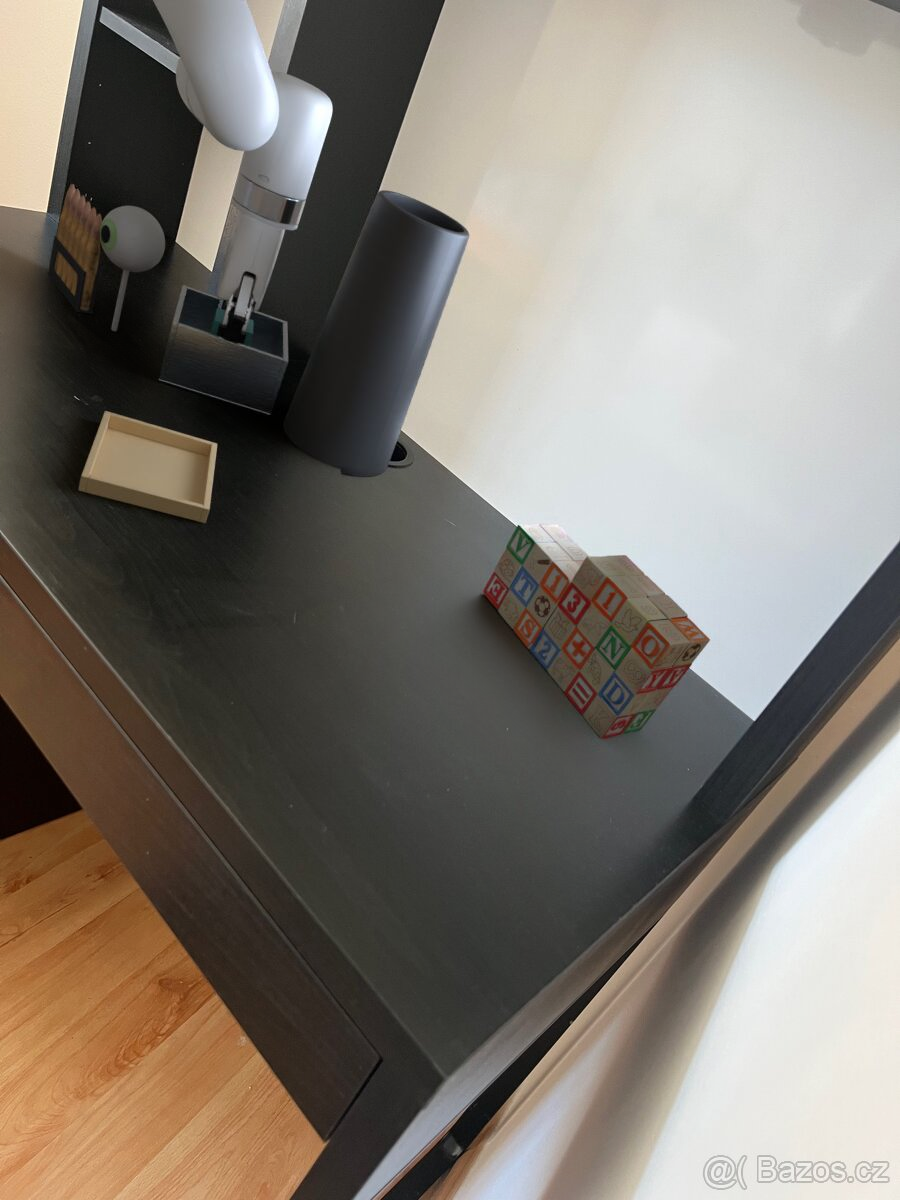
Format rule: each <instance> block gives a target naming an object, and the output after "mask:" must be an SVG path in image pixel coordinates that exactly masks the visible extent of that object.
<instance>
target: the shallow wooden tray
mask: <svg viewBox="0 0 900 1200" xmlns="http://www.w3.org/2000/svg"><path fill="white" fill-rule="evenodd" d="M217 450H218V443H217V442H213V441H210V440H206V439H203V438H200V437H196V436H194V435H189V434H186V433H183V432H180V431H176V430H173V429H168V428H166V427H163V426H159V425H156V424H151V423H149V422H146V421H142V420H139V419H135V418H131V417H128V416H125V415H122V414H121V415H120V414H118V413H114V412H111V411H107V410H104V412H103V415H102V418H101V421H100V424H99V426H98V429H97V432H96V434H95V436H94V439H93V443H92V445H91V448H90V451H89V453H88V457H87V458H86V461H85V465H84V467H83V470H82V472H81V475H80V480H79V483H78V491H80V492H83V493H87V494H91V495H95V496H99V497H101V498H102V497H103V498H107V499H110V500H114V501H119V502H122V503H126V504H130V505H134V506H138V507H141V508H146V509H148V510H153V511H157V512H160V513H165V514H168V515H171V516H172V515H173V516H176V517H181V518H184V519H188V520H191V521H196V522H199V523H203V524H206V523H207V519H208V516H209V514H210V509H211V502H212V501H211V500H212V492H213V484H214V476H215V467H216V459H217V452H218V451H217Z"/></svg>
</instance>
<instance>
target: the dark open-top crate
mask: <svg viewBox="0 0 900 1200" xmlns="http://www.w3.org/2000/svg"><path fill="white" fill-rule="evenodd" d="M219 301H220V300H219V299H218V297H217V295H214V294H210V293H207V292H206V291H202V290H199V289H196V288H193V287H192V286H191V287H190V286H187V285H186V284H182V287H181V290H180V294H179V297H178V301H177V304H176V307H175V312H174V315H173V318H172V322H171V326H170V332H169V335H168V340H167V342H166V346H165V351H164V354H163V355H164V356H163V359H162V364H161V367H160V371H159V374H158V375H159V376H158V380H157V383H159V384H162V385H165V386H168V387H172V388H174V389H178V390H181V391H183V392H187V393H190V394H193V395H197V396H200V397H204V398H207V399H210V400H213V401H217V402H220V403H223V404H226V405H229V406H233V407H236V408H237V409H238V408H239V409H242V410H245V411H249V412H252V413H254V414H258V415H261V416H264V417H268V418H271V415H272V412H273V410H274V406H275V403H276V401H277V397H278V394H279V391H280V388H281V385H282V382H283V379H284V376H285V373H286V371H287V367H288V365H289V337H288V321H287V320H283V319H280V318H278V317H274V316H272V315H270V314H266V313H264V312H260V311H259V310H258V311H255V312H251V315H250V318H249V319H251V320H253V321H254V322H253V335H252V338H251V342H250V345H249V346H246V345H243V344H240V343H237V342H234V341H231V340H228V339H225V338H222V337H219V336H217V335H214V334H211V333H210V331H211V327H212V324H213V320H214V316H215V313H216V309H217V308H218V304H219V303H220V302H219ZM224 309H225V308H224ZM225 310H226V309H225Z"/></svg>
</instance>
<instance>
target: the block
mask: <svg viewBox="0 0 900 1200" xmlns="http://www.w3.org/2000/svg"><path fill="white" fill-rule="evenodd" d="M230 313H231V312H230ZM224 314H225V310H223V309H220V308H217V309H216V313H215V316H214V320H213V324H212V327H211V331H210V333H211V334H214V335H216V334H217V331H218V327H219V324H222V322H223V318H224ZM253 322H254V321H253V320H251V319H249V322H248V325H247V329H246V333H247V335H246V338H245V342H244V345H246V346H249V345H250V342H251V338H252V335H253Z"/></svg>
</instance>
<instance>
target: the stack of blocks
mask: <svg viewBox="0 0 900 1200" xmlns="http://www.w3.org/2000/svg"><path fill="white" fill-rule="evenodd" d="M482 594H483V595H484V596H485V597H486V598H487V599H488V600H489V602H490V603H491V605H493V607H495V609H496V610H497V612H498V613H499V615H500V616H501V617H502V618H503V620H504V621H505V623H506V624H507V625H508V626H509V627H510V628H511V629H512V630H513V632H514V633H515V634H516V636H517V637H518V638H519V640H521V643H523V644H524V646H525V647H526V648H527V650H529V651H530V652H531V654H533V656H534V658H536V659H537V661H538V662H539V664H541V666H542V667H543V668H544V669H545V671H547V673H548V674H549V675H550V676H551V678H552V679H553V680H554V682H555V683H556V684H557V685H558V686H559V688H560V689H561V691H563V692H564V694H565V696H566V697H567V698H568V699H569V701H570V702H571V704H572V705H573V706H574V707H575V709H576V710H577V711H578V712H579V714H581V715H582V717H583V718H584V720H585V721H586V722H587V723H588V725H589V726H590V727H591V728H592V730H593V731H594V732H595V733H596V735H597V736H598V737H599V738H600V739H602V740H603V739H609V738H613V737H617V736H620V735H622V734H628V733H632V732H637V731H641V730H643V728H644V727H645V725H646V724H647V723H648V721H649V720H650V719H651V717H652V716H653V715H654V714H655V712H656V711H657V709H658V708H659V707H660V705H661V704H662V703H663V702H664V700H665V699H666V698H667V696H668V695H669V694H670V693H671V691H673V689H674V687H676V686H677V684H678V683H679V682H680V681H681V680H682V678H683V677H684V675H686V673H687V671H688V670H689V669H690V668H691V667H692V665H693V663H694V661H696V659H697V658H698V656H700V654H701V653H702V652H703V650H705V648H706V647H707V645H708V644H709V643H710V641H711V639H710V638H709V637H708V636H707V634H705V633H704V632H703V630H701V629H700V628H699V627H698V625H696V624H695V622H694V621H692V620H691V618H689V616H688V613H687V612H686V611H685V610H684V609H683V608H682V607H681V606H680V605H679V604H678V603H677V602H676V601H675V600H674V599H672V597H670V595H668V594H666V593H665V591H664V590H663V589H662V588H660V587H659V586H658V585H657V584H656V582H654V581H653V579H651V578H650V577H649V576H648V575H646V574H645V572H644V571H643V570H642V569H640V567H638V565H636V564H635V563H634V562H633V560H632V559H631V558H630V557H628V556H627V555H626V554H616V555H615V554H613V555H603V556H599V555H598V556H597V555H594V556H590V555H589V554H588V553H587V552H586V551H584V550H583V548H582V547H581V546H580V545H579V544H578V543H577V542H576V541H574V539H572V537H571V536H569V534H568V533H567V532H566V531H565V530H564V529H563V528H562V527H561V526H560V525H559V524H545V523H543V524H542V523H539V524H523V523H522V524H521V523H518V524H517V526H516V528H515V529H514V531H513V533H512V535H511V537H510V539H509V541H508V543H507V544H506V546H505V550H504V551H503V553H502V554H501V557H500V559H499V560H498V562H497V564H496V566H495V568H494V570H493V572H492V574H491V575H490V577H489V578H488V581H487V583H486V584H485V586H484V588H483V590H482Z"/></svg>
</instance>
